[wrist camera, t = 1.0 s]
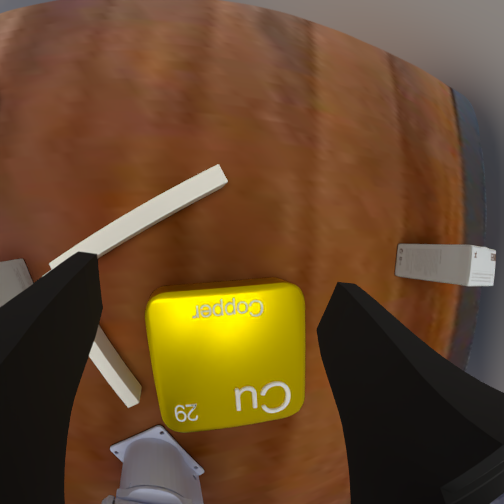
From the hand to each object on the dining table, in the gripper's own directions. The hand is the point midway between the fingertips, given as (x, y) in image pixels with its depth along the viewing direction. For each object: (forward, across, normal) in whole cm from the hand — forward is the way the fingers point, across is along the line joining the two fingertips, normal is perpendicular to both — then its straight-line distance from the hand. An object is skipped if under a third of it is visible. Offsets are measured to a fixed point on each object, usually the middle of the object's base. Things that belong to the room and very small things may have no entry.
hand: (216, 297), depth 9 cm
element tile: (+15, -4, +19) cm, 25 cm away
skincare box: (+22, -27, +9) cm, 36 cm away
